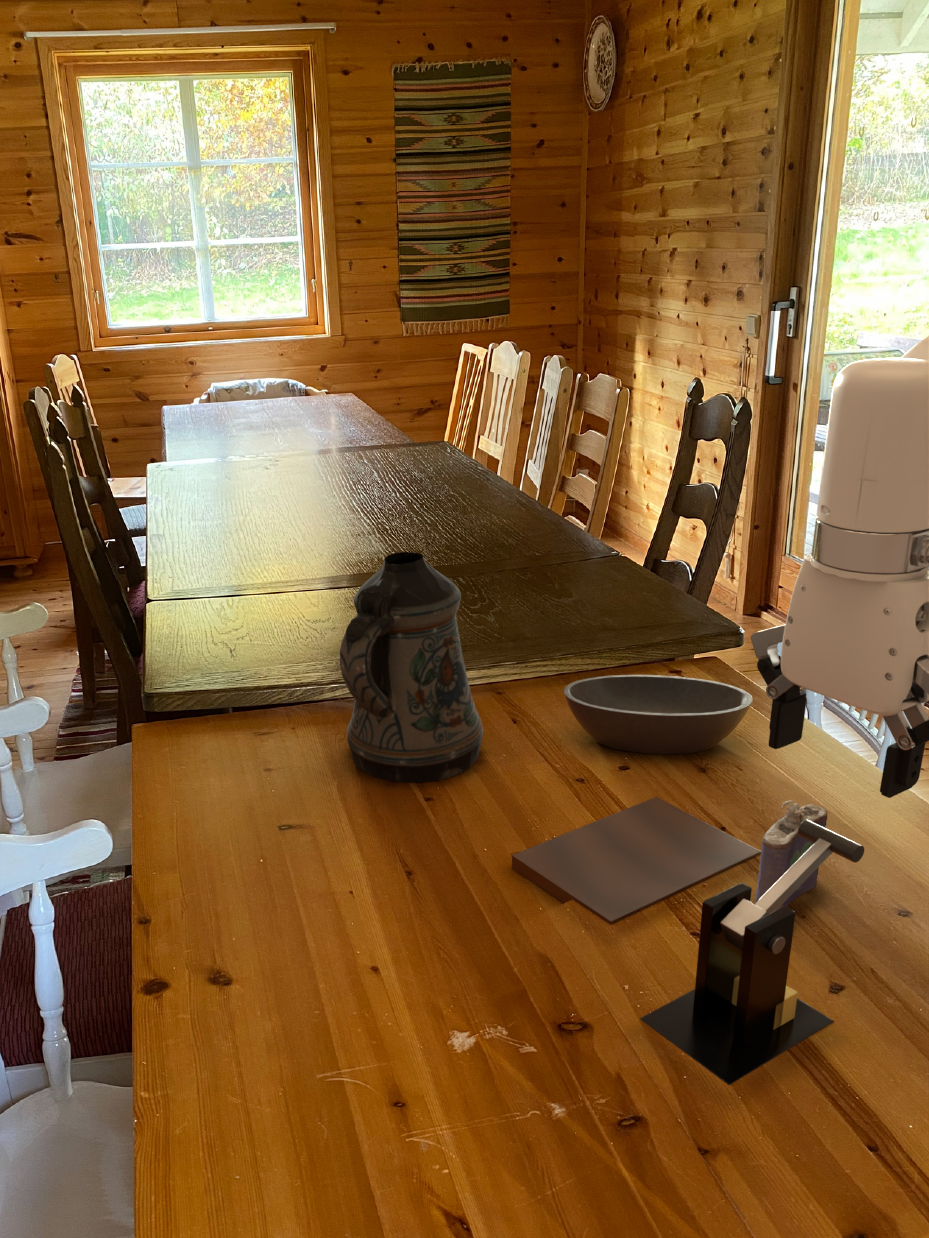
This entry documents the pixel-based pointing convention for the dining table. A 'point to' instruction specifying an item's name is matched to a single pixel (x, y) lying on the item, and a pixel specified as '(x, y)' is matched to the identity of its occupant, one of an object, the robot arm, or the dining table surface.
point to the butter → (787, 1007)
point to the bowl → (657, 712)
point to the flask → (787, 848)
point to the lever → (790, 879)
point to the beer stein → (409, 676)
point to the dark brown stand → (707, 1014)
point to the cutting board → (631, 859)
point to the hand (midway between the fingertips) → (838, 766)
